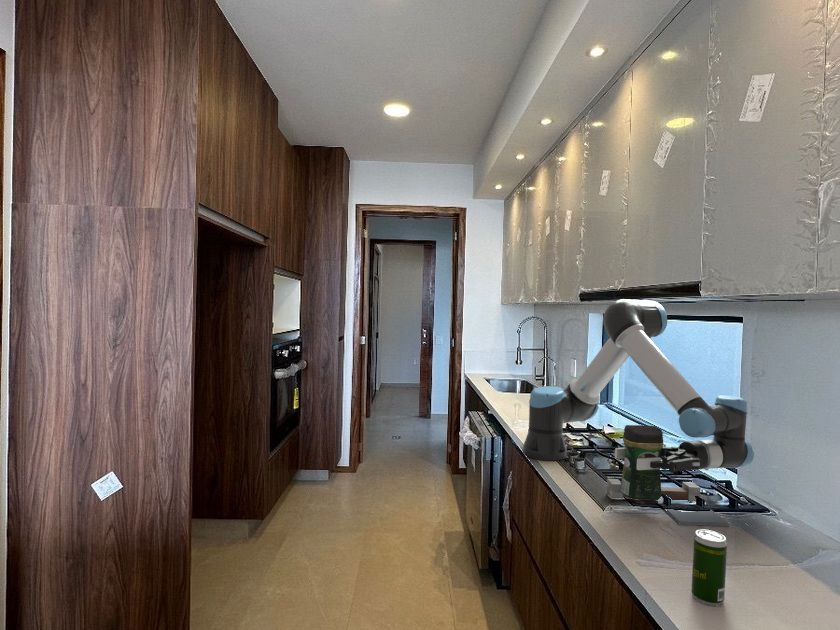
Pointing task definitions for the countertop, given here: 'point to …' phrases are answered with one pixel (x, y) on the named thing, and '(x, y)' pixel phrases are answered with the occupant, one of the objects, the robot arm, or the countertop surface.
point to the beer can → (709, 567)
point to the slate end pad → (697, 518)
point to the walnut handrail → (684, 493)
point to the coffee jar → (641, 445)
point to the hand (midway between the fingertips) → (626, 458)
